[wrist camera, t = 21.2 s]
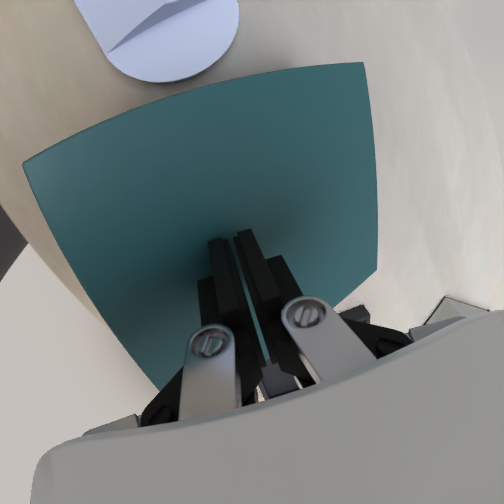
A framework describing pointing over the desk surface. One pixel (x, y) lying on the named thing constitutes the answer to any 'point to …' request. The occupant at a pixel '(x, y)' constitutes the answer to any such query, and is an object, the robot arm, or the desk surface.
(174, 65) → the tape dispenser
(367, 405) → the robot arm
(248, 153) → the lid
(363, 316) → the tray
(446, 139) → the desk surface
